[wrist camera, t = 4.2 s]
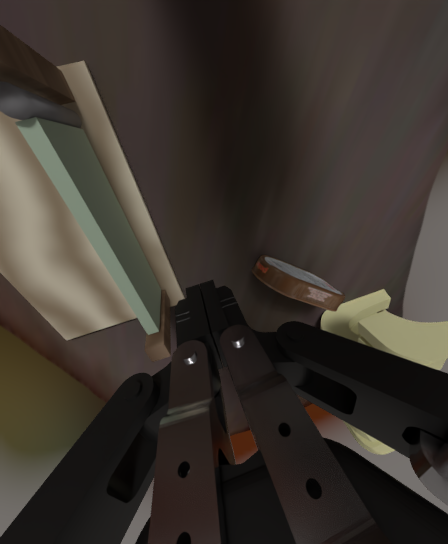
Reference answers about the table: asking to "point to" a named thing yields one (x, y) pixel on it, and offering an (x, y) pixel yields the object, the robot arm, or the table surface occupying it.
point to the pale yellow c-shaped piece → (387, 341)
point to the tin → (297, 283)
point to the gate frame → (58, 218)
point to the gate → (86, 195)
